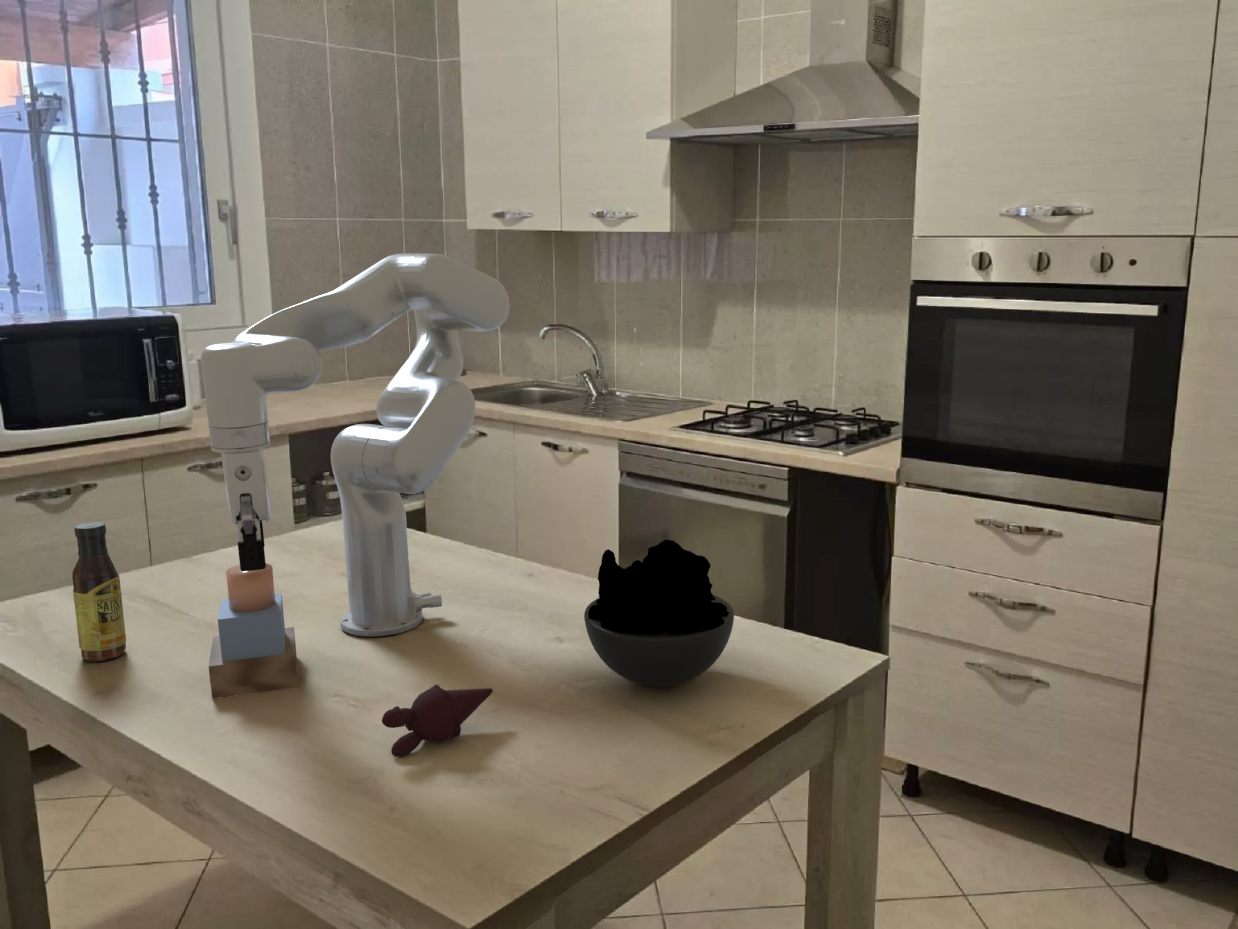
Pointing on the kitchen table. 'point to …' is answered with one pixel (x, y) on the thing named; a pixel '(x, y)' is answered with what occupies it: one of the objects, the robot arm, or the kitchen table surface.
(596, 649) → the coal bowl
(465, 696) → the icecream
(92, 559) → the sauce bottle
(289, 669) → the tower base
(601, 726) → the kitchen table surface
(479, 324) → the robot arm
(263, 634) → the tower middle
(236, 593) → the terracotta cylinder
